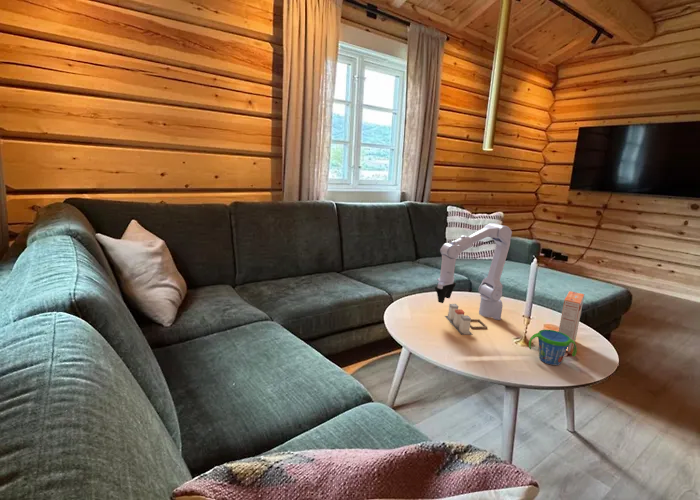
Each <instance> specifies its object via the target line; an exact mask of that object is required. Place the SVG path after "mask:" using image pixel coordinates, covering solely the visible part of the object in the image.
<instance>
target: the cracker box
mask: <svg viewBox="0 0 700 500" xmlns="http://www.w3.org/2000/svg"><path fill="white" fill-rule="evenodd" d="M584 299H585V294H584V293H582V292H581V293H579V292H576V291H572V290H571V291H570V290H569V291H568V293H567V294H566V296H565V298H564V300H563V305H562V310H561V316H560V323H559V327H558V328H559V329H558V332H561V333H564V334H566V335H567V336H569V337H570V339H572V340H573V341H574V342H575V343H576V339H577V334H578V329H579V324H580V320H581V319H580V318H581V315H582V309H583V304H584ZM573 349H574V344H573V343H572V342H571V343H570V344H569V346H568V352H567V353H569V354H572V353H573Z"/></svg>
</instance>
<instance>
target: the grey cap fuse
mask: <svg viewBox="0 0 700 500" xmlns="http://www.w3.org/2000/svg"><path fill="white" fill-rule="evenodd" d="M455 309H459V305H458V304H457V303H449V304H448V312H447V316H448V318H449V319H450V320H451V318H454V314H455Z"/></svg>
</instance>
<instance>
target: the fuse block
mask: <svg viewBox="0 0 700 500" xmlns="http://www.w3.org/2000/svg"><path fill="white" fill-rule="evenodd" d="M444 317H445V318H446V320H447V321H448V322H449V323H450V324H451V325H452V327H454V328H455V330H456V331H457V332H458V333H459V335H462V336H465V335H467V336H470V335H471V336H472V335H473V333H472V332H471V331H470V330H469V331H463V333H462V332H461V331H460V330H459V328H460V324H457V326H455V325H454V324H453V322H454V318H451V320H450V319H449V318H448V315H444Z"/></svg>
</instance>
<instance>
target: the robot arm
mask: <svg viewBox="0 0 700 500" xmlns="http://www.w3.org/2000/svg"><path fill="white" fill-rule="evenodd" d="M512 234H513V231H512V229H511V228H510V227H509V226H507V225H503V224H499V223H495V222H490V223H488V224H485V225H484V227H482V228H481V229H479V230H477V231H476V232H474V233H472V234H471V235H469V236H468V235H463V234H462V235H461V236H460V237H459V238H457V239H455V240H451V242H445V243H443V245H442V246H441V248H440V250H439V252H440V254H441V265H440V266H441V267H440V275H439V277H438V278H437V279H436V280H437V281H438V283H437V285H435V286H434V290H435V292H436V296H437V302H438V303H440V304H444V302H445V299H451V296H452V293H453V291H454V288H455V287H456V286H457V283H456V282H455V268H456V263H457V262H456V260H457V258H458V257H459V256H460V254H461V253H463V252H464V251H467V250H468V249H470V248H472V246H473V244H475V243H477V242H479V241H482V240H484V239H486V238H490V239H492V240H493V241H494V243H495V246H496V247H495V249H494V252H493V256H492V259H491V263H490V267H489V269H488V270H489V271H488V274H487V276H486V277H485V278H483V279H482V281H481V284H480V285H479V286H478V293H479V295H480V303H479V309H478V314H479V315H480V316H481V317H485V318H490V319H491V318H492V319H494V321H495V320H496V321H498V320H499V321H501V320H502V312H503V302H502V300H501V298H502V296H503V284H502V282H501V278H502V273H503V270H504V268H505V267H504V266H505V263H506V260H507V256H508V252H509V249H510V246H511V237H512Z"/></svg>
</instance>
